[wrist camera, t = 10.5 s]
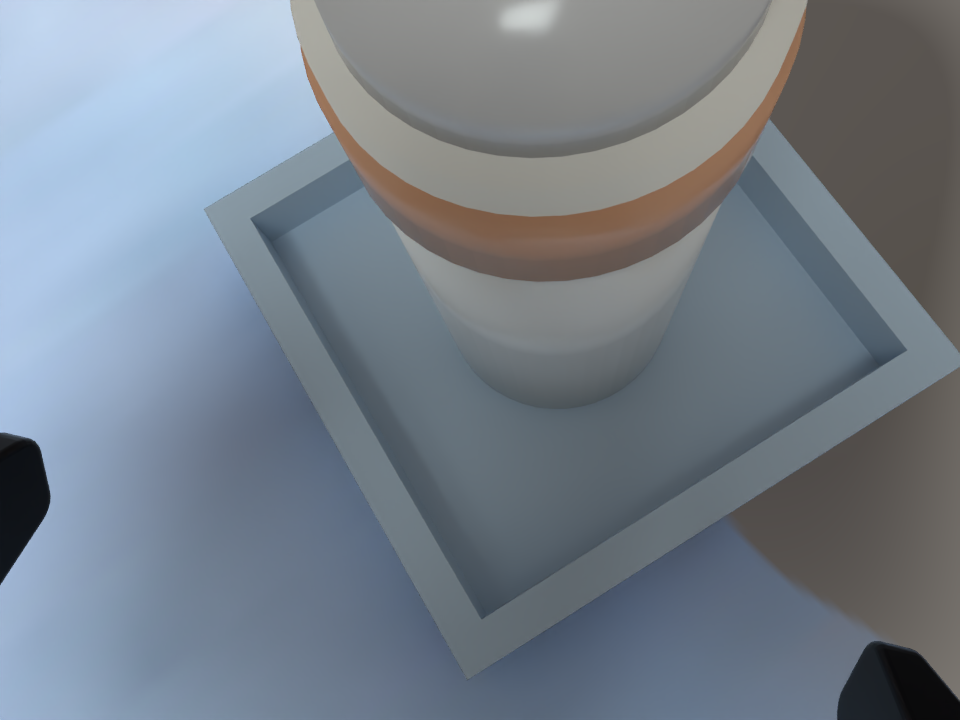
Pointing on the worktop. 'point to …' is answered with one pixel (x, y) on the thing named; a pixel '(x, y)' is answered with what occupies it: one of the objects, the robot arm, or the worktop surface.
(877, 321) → the tray
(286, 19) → the worktop surface
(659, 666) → the worktop surface
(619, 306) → the copper banded cylinder
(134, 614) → the worktop surface
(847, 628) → the worktop surface
